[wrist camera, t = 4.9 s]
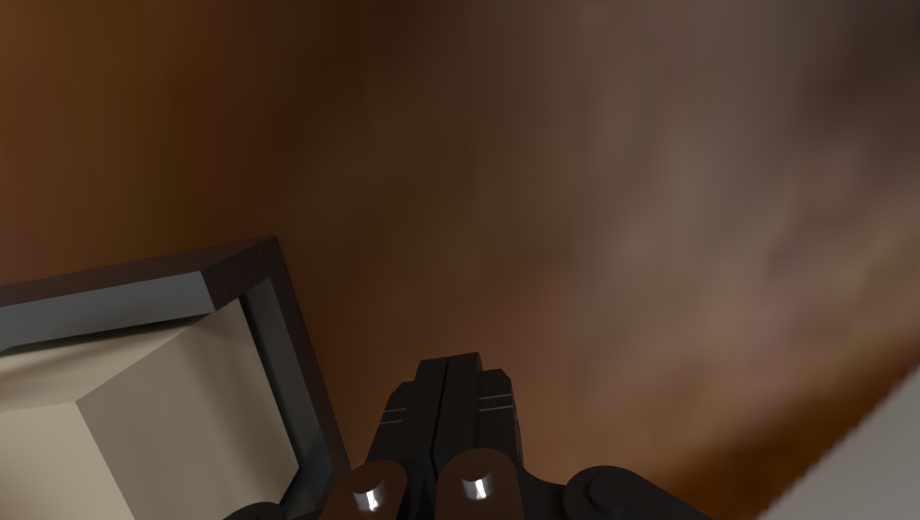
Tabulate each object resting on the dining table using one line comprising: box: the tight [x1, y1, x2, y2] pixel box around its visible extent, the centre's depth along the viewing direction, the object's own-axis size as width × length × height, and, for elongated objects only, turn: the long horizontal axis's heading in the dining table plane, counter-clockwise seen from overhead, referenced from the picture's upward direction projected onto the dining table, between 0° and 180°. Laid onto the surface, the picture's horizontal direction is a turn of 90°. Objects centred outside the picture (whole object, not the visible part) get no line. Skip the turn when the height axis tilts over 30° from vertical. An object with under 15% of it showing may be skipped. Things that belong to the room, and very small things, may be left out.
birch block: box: [0, 298, 299, 520], centre depth 11 cm, size 6×6×5 cm
